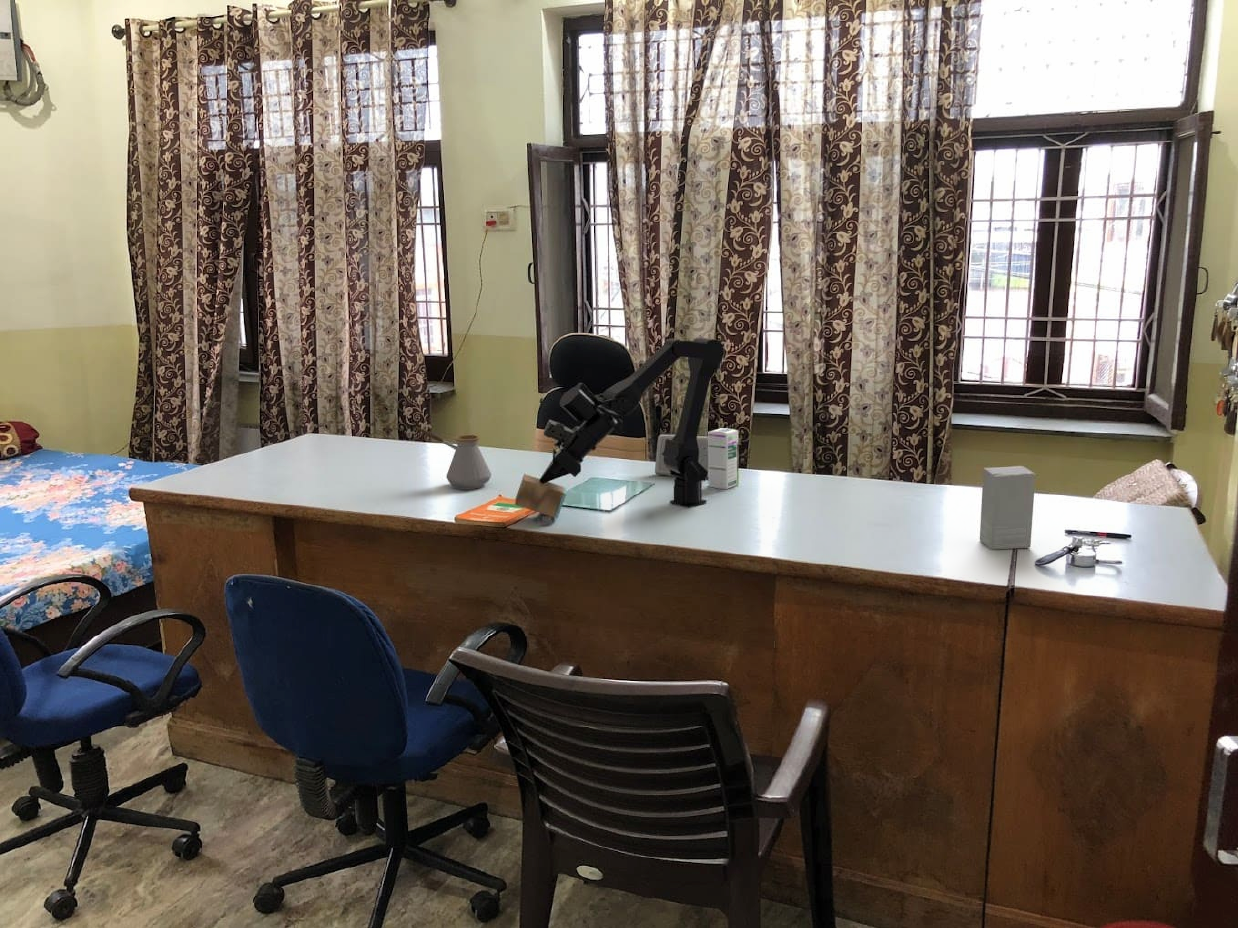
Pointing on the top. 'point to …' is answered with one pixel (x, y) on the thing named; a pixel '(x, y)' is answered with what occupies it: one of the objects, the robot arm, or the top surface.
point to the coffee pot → (465, 462)
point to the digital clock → (660, 466)
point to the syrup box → (723, 458)
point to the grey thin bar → (546, 520)
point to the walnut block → (540, 496)
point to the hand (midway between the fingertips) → (540, 481)
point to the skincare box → (1007, 507)
